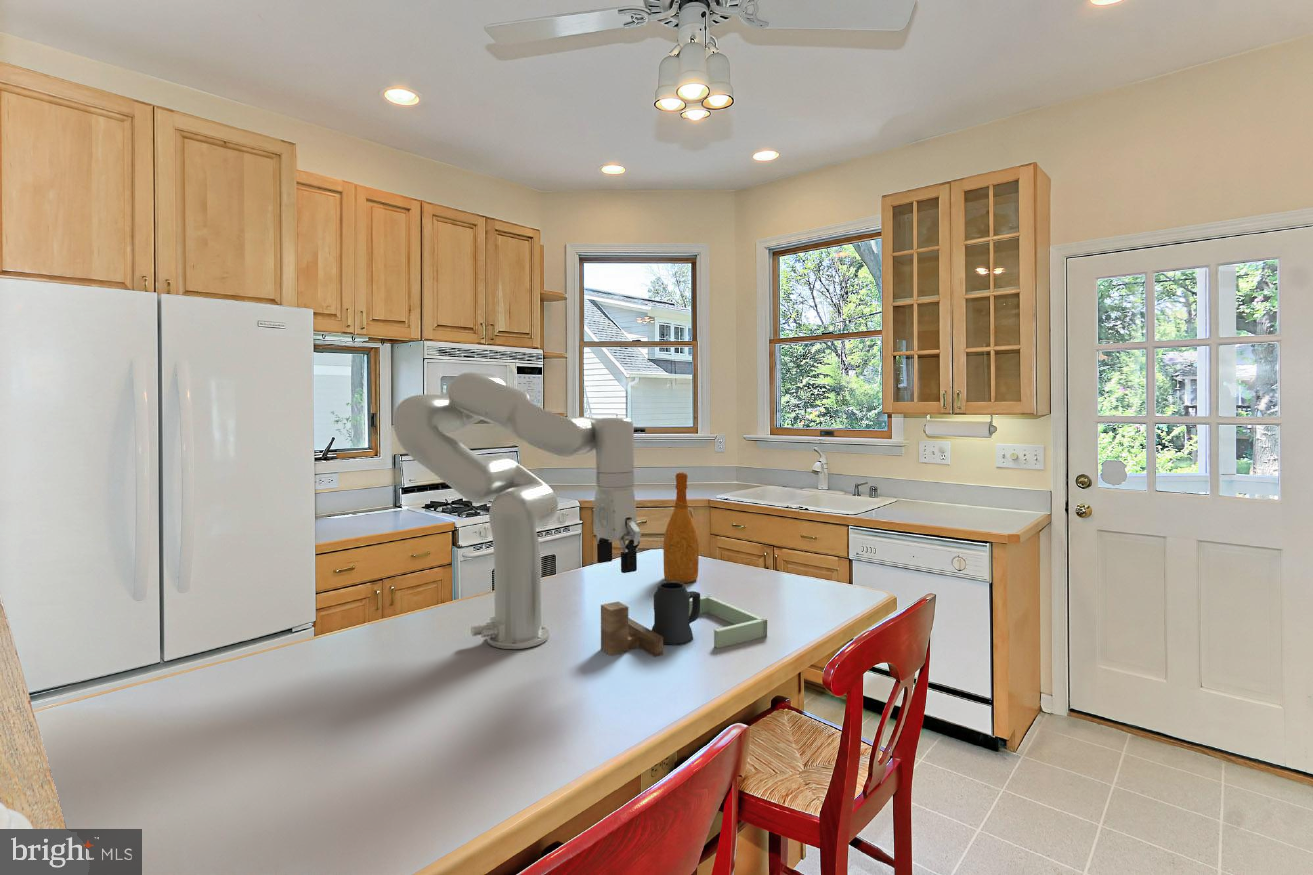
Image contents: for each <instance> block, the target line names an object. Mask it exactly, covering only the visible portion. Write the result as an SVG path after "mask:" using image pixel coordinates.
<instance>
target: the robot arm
mask: <svg viewBox="0 0 1313 875" xmlns="http://www.w3.org/2000/svg"><path fill="white" fill-rule="evenodd" d="M447 390H448V391H447V394H416V395H412V396H409V397H406V398H404V399H403V400H402V401H400V402H399V403H398V405H397V406H396V407H395V411H394V414H393V429H394V433H395V436H396V439H397V441H398V443H399V445H400V446H401V447H402V449H403V450H404V452H405V453H406V454H408V455H409V456H410V458H412V459H413V460H414V461H416V462H417V463H419V464H420V465H421V466H422V467H425V469H427V470H428V471H430V472H431V473H432V474H434V475H435V476H436V477H437V478H438V479H440V480H441V481H443V483H445V484H446V485H448V486H449V487H450V488H451V489H453V490H454V491H455V492H457V493H458V494H459V495H461V497H463V498H465V499H466V500H467V501H469V502H471V503H474V504H482V503H488V502H491V505H490V506H489V512H488V517H489V518H488V519H489V525H490V531H491V537H492V544H493V566H494V567H493V570H494V571H493V572H494V573H493V576H494V577H493V578H494V579H493V580H494V582H493V583H494V584H493V586H494V616H491V617H490V618H489V620H490V621H488V622H485V624H482V625H480V624H479V625H474V626H471V627H470V633H471V636H472V637H476V636H480V637H481V638H486V641H487V642H486V643H488V644H489V645H490V646H491V647H494V648H498V649H504V650H521V649H522V650H523V649H527V648H533V647H536V646H539V645H542V644H543V643H545V642H546V641H548V639H549V637H550V632H549V631H550V630H549V629H548V628H547V627H545V626H543V625H542V552H541V544H540V541H539V537H538V534H537V528H539V527H542V526H545V525H546V524H548V523H550V522H551V521H552V520H553V519H554V518H555V517H556V515H557V512H558V508H559V502H558V501H559V500H558V496H556V493H555V492H554V491H553V489H552V488H551V487H550V486H549V485H548V484H546V483H545V482H544V481H543V480H541V479H540V478H538V477H537V476H536V474H533V473H532V472H530V471H529V470H528V469H526V468H525V467H523V466H522V465H521V464H520V463H519V462H517V461H515V460H513V459H511V458H509V457H508V456H503V455H491V456H482V455H479V454H477V453H476V452H474V451H472V450H471V449H469V448H468V447H467V446H466V445H464V444H463V443H462V442H460V441H459V440H457V439H456V438H453V437H451V436H449V435H447V434H449V433H454V432H457V431H460V430H462V429H463V430H464V429H465V428H467V427H469V426H471V425H473V424H476V423H477V422H479V421H485V422H487V423H489V424H492V425H495V426H497V427H500V428H502V429H505V430H507V431H508V432H510V433H511V434H512V435H513V436H515V437H516V438H518V439H519V440H521V441H522V442H524V443H526V444H528V445H530V446H532V447H534V448H537V449H540V450H542V451H543V452H547V453H550V454H552V455H555V456H558V457H564V458H567V457H575V456H579V455H586V454H592V453H595V483H596V484H595V485H596V486H595V493H594V499H593V500H594V501H593V503H594V504H593V518H592V524H593V525H592V526H593V528H592V530H593V533H594V534H595V536H596V537H595V543H596V556H597V557H596V559H597V560H596V562H597V563H598V564H603V563H609V562H612V561H613V542H618V541H619V544H620V545H619V546H620V547H621V549H622V551H620V572H621V573H622V574H628V573H633V572H636V571H637V569H638V567H637V566H638V560H637V558H638V557H637V554H638V553H637V552H638V550H639V545H640V542H641V541H640V539H641V536H642V531H641V529H639V526H637V525H638V524H637V520H638V519H637V518H638V517H637V506H636V498H635V490H634V489H635V440H634V439H635V436H634V434H635V432H634V431H635V430H634V428H635V426H634V422H633V421H632V420H631V419H630V418H628V417H627V418H626V417H603V418H598V417H597V418H596V417H595V418H594V417H590V416H570V417H566V416H562V415H559V414H557V413H554V412H551V411H549V410H547V409H545V408H543V407H539V406H537V405H536V404H534V403H533V402H531V397H530V396H529V394H528V392H526V391H523V390H521V389H517V388H514V387H512V386H509V385H507V384H506V382H504V381H503V379H502V378H500V377H499V376H497V375H494V374H491V373H482V372H463V373H459V375H458V374H457V376H455V377H454V378H452V380H451V382H450V383H449V385H448V389H447ZM446 433H447V434H446Z"/></svg>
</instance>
